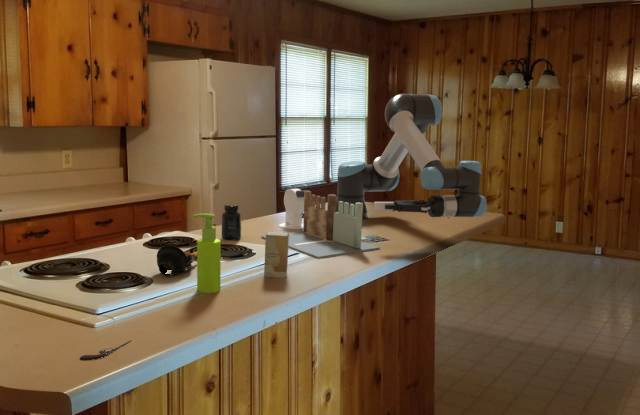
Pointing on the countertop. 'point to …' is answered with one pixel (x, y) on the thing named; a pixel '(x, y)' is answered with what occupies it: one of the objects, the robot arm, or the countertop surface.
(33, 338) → the countertop surface
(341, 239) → the fence panel
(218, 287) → the soap dispenser
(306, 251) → the card
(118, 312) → the countertop surface
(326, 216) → the fence fixed
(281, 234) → the skincare box
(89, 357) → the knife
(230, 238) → the supplement bottle
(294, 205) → the panda figurine
